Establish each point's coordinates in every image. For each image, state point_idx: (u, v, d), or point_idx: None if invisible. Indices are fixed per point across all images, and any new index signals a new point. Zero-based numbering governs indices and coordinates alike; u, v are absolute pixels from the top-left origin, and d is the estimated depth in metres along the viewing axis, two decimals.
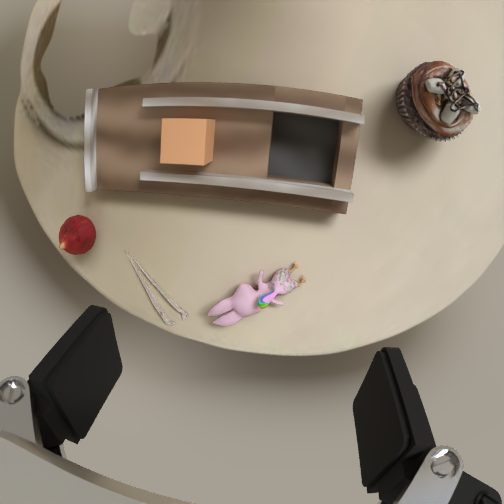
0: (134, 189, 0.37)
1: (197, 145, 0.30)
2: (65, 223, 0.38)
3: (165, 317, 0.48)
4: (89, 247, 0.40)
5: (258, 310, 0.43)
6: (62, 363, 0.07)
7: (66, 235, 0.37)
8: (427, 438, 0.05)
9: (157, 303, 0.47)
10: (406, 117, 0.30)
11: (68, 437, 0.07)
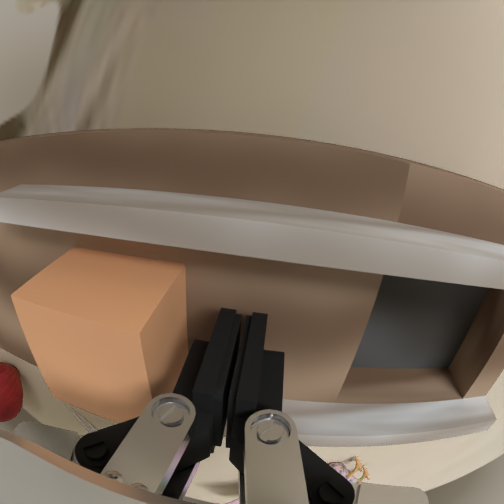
0: None
1: (129, 396, 0.08)
2: None
3: None
4: (16, 413, 0.18)
5: None
6: (223, 370, 0.08)
7: None
8: (254, 396, 0.07)
9: None
10: None
11: None
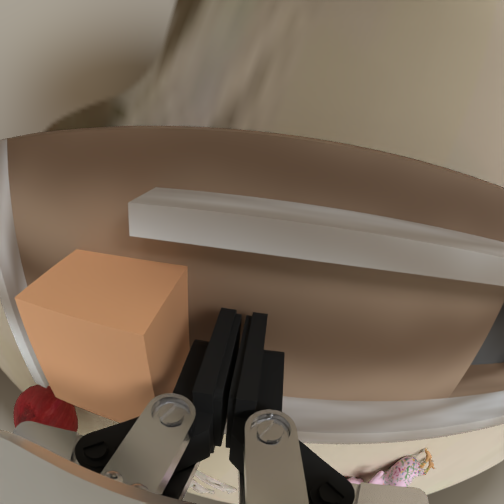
0: None
1: (132, 396, 0.08)
2: (18, 410, 0.15)
3: (200, 488, 0.25)
4: None
5: None
6: (223, 370, 0.08)
7: None
8: (254, 396, 0.07)
9: None
10: None
11: None
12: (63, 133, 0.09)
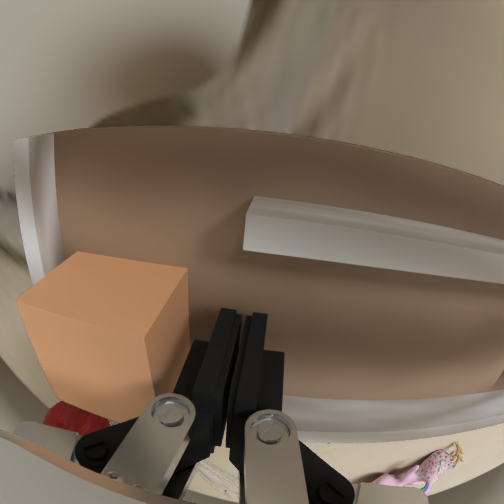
0: None
1: (134, 398, 0.08)
2: None
3: (231, 493, 0.25)
4: None
5: None
6: (223, 370, 0.08)
7: None
8: (254, 396, 0.07)
9: (219, 483, 0.24)
10: None
11: None
12: (136, 129, 0.09)
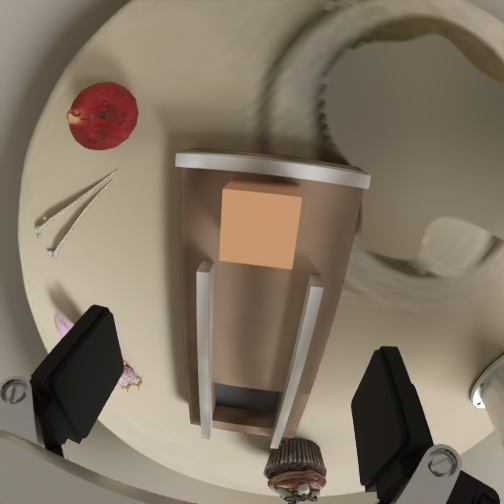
0: (183, 237, 0.25)
1: (250, 253, 0.21)
2: (117, 102, 0.19)
3: (41, 227, 0.29)
4: None
5: None
6: (64, 362, 0.07)
7: (94, 120, 0.18)
8: (425, 437, 0.05)
9: (54, 218, 0.29)
10: (280, 454, 0.38)
11: (70, 437, 0.07)
12: (354, 232, 0.23)
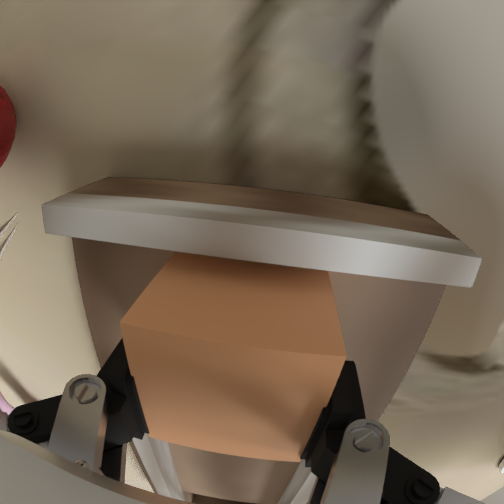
0: (98, 346, 0.12)
1: (210, 440, 0.08)
2: None
3: None
4: None
5: None
6: None
7: None
8: (348, 408, 0.06)
9: None
10: None
11: None
12: (415, 351, 0.11)
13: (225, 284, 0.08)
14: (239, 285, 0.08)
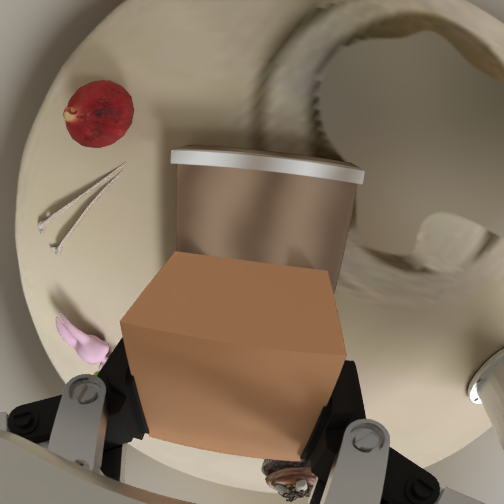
0: (178, 234, 0.25)
1: (210, 439, 0.08)
2: (113, 100, 0.19)
3: (45, 223, 0.29)
4: None
5: None
6: None
7: (90, 117, 0.18)
8: (348, 408, 0.06)
9: (58, 213, 0.29)
10: None
11: None
12: (348, 227, 0.23)
13: (225, 283, 0.08)
14: (239, 284, 0.08)
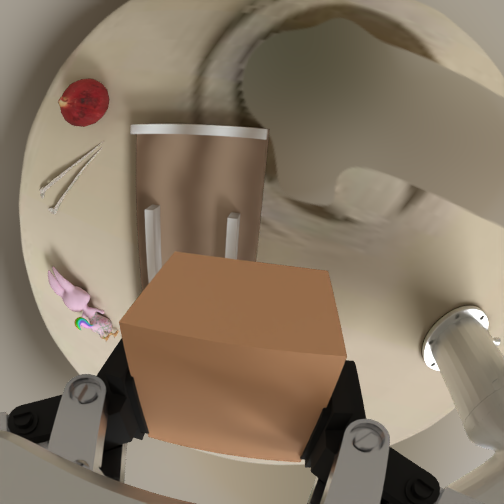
0: (138, 187, 0.32)
1: (210, 440, 0.08)
2: (93, 92, 0.26)
3: (45, 188, 0.36)
4: None
5: None
6: None
7: (76, 104, 0.25)
8: (349, 408, 0.06)
9: (57, 180, 0.35)
10: None
11: None
12: (262, 176, 0.30)
13: (225, 284, 0.08)
14: (239, 285, 0.08)
